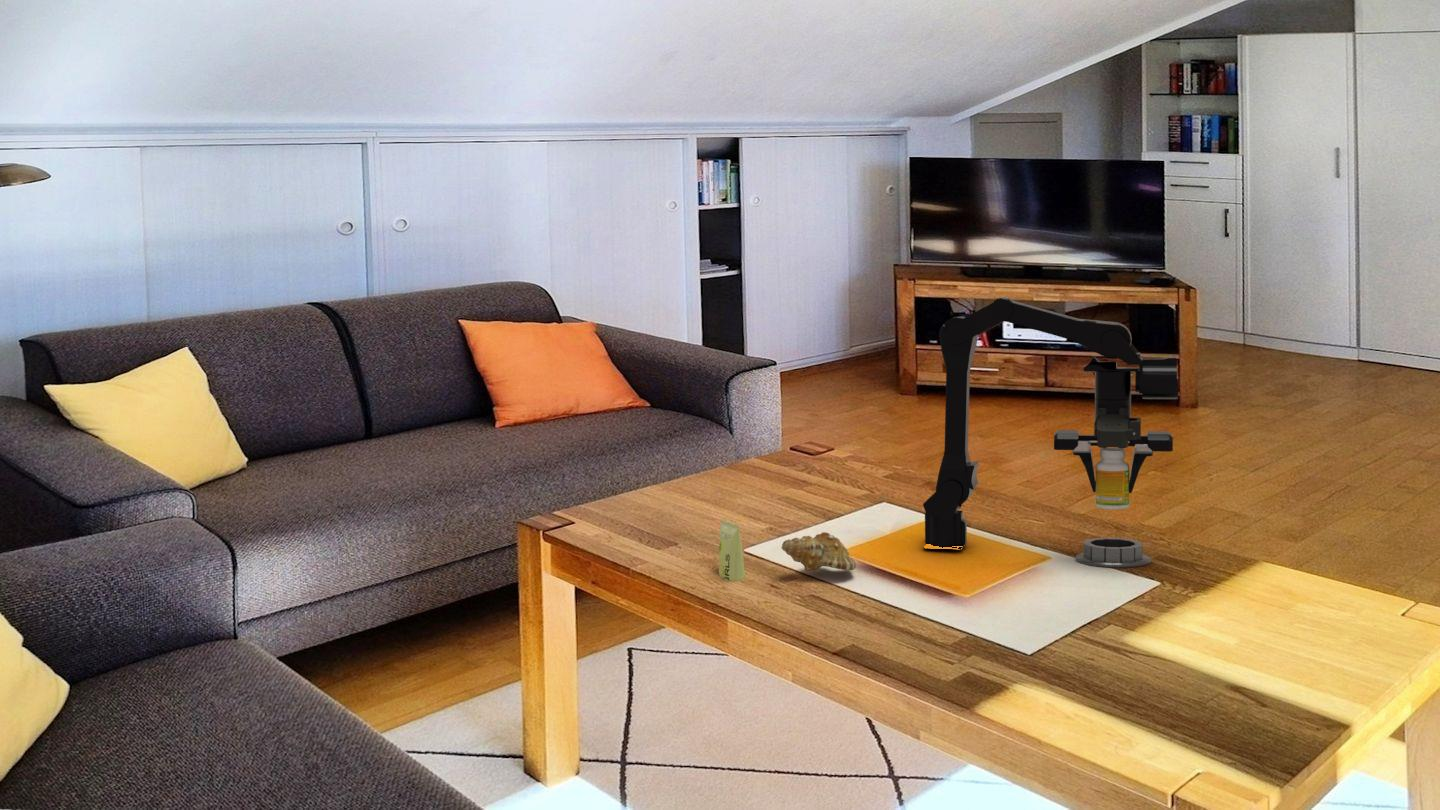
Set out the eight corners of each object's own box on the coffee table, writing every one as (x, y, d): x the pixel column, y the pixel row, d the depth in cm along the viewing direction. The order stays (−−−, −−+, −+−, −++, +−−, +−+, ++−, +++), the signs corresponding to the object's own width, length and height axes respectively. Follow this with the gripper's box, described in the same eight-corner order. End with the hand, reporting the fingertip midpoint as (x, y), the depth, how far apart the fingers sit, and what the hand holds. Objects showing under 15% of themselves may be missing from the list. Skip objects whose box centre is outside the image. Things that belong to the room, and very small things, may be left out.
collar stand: (1074, 566, 220) (1074, 549, 220) (1076, 552, 232) (1076, 535, 232) (1151, 569, 217) (1151, 551, 217) (1149, 554, 229) (1149, 537, 228)
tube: (710, 640, 221) (707, 523, 220) (723, 634, 226) (721, 518, 225) (741, 643, 219) (738, 524, 218) (754, 636, 223) (751, 520, 222)
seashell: (826, 595, 215) (793, 543, 214) (803, 596, 222) (771, 545, 221) (867, 562, 219) (835, 511, 218) (842, 563, 226) (811, 514, 225)
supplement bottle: (1130, 510, 221) (1131, 451, 220) (1096, 509, 222) (1096, 451, 221) (1127, 504, 226) (1128, 447, 225) (1094, 504, 227) (1094, 447, 226)
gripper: (1052, 402, 217) (1052, 498, 218) (1174, 403, 212) (1173, 501, 213) (1055, 396, 228) (1055, 488, 229) (1171, 397, 222) (1170, 490, 224)
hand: (1112, 492), depth 224 cm, fingers closed on supplement bottle, 5 cm apart
